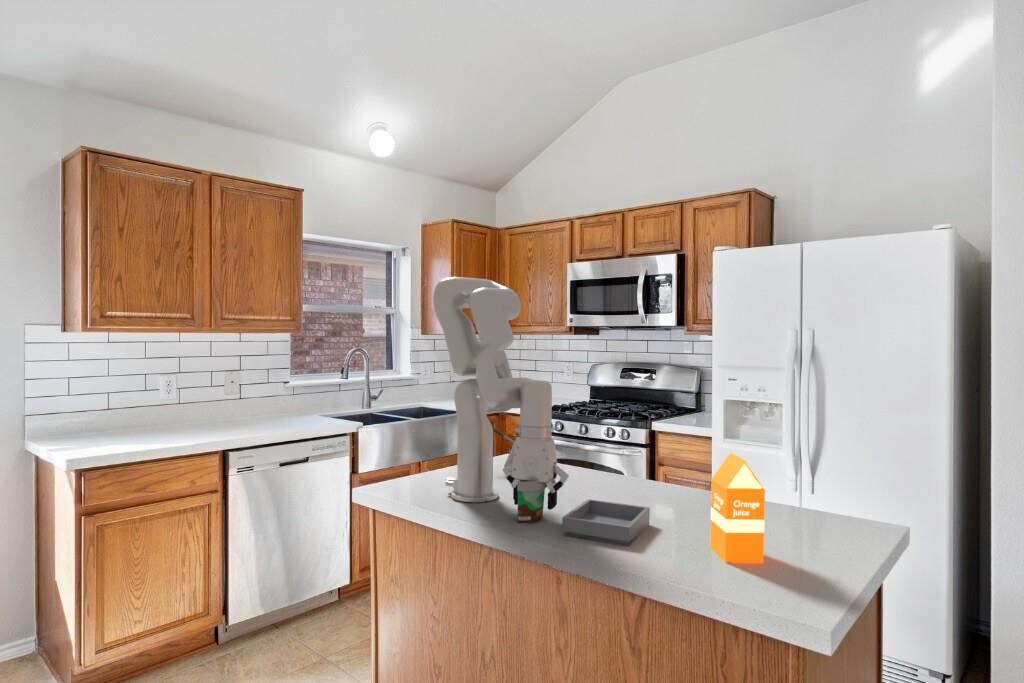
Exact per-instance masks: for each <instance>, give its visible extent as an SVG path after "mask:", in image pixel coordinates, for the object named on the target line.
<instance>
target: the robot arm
mask: <svg viewBox="0 0 1024 683" xmlns="http://www.w3.org/2000/svg"><path fill="white" fill-rule="evenodd" d="M432 302H433V310H434V312H435V316H436V318H437V321H438V322H439V325H440V326H441V329H442V332H443V336H444V340H445V344H446V349H447V352H448V355H449V361H450V363H451V367H452V370H453V371H454V373H455V374H456V375H458V376H460V377H475V378H468V379H465V380H463V381H461V382H459V383H458V384H457V386H456V387H455V390H454V395H453V396H454V397H453V399H454V400H453V401H454V407H455V411H456V418H457V421H456V422H457V462H456V464H457V466H456V467H457V468H456V469H457V470H456V471H457V472H456V475H457V476H456V477H457V478H453V477H447V478H446V479H445V480H446V481H445V486H446V487H452V488H453V489H452V490H451V493H450V494H451V495H450V497H451V498H452V499H453V500H456V501H458V502H464V503H485V501H487V502H491V501H494V500H496V499H497V498H498V497H499V491H498V490H496V489H495V488H493V486H494V485H493V484H494V483H493V482H494V481H493V479H494V471H493V470H494V432H493V429H492V427H493V426H492V424H491V422H490V420H489V418H488V416H487V415H489V414H494V413H495V414H496V413H505V412H508V411H511V410H512V409H520V410H519V424H518V425H516V426H515V427H514V432H516V433H519V435H520V437H517V438H516V442H515V447H514V454H513V463H511V464H509V465H508V466H506V467H505V468H504V467H503V468H502V472H503V473H504V476H505V477H506V479H507V481H508V482H509V484H510V485H511V488H512V489H513V490H512V491H513V493H512V496H513V498H512V500H513V501H514V505H515V506H518V491H517V485H518V481H519V482H521V481H538V480H539V482H540V483H546V485H547V489H549V492H548V493H547V510H549V511H550V510H551V511H552V510H553V509H554V508H555V507H556V506H557V504H558V492H559V490H560V489H561V488H562V487H563V486H564V485H565V483H566V482H567V481H568V479H569V477H570V475H569V474H568V473H567V472H566V471H564V470H563V469H562V468H561V467H560V466H559V465H558V458H557V450H556V444H555V443H556V442H555V438H552V421H553V420H552V417H553V415H552V413H553V412H552V408H553V403H552V402H553V400H552V399H553V391H552V390H553V387H552V384H551V382H549V381H547V380H540V379H538V380H535V379H532V378H529V377H513V374H512V371H511V366H510V363H509V360H508V357H507V354H506V351H505V350H506V349H507V348H509V347H510V346H511V345H512V344H513V343H514V340H515V336H514V333H513V331H512V328H511V325H510V323H509V321H513V320H514V319H516V318H517V317H519V314H520V312H521V306H522V304H521V300H520V298H519V295H518V294H517V292H516V291H514V290H513V289H512V288H509V287H508V286H505V285H502V284H500V283H498V282H497V281H493V280H491V279H487V278H475V277H463V276H451V277H446V278H442V279H441V280H440V281H438V282H437V283H436V285H435V287H434V291H433V297H432ZM462 309H469V311H470V313H471V317H472V320H473V322H472V321H471V320H470V318H469V317H468V315H467V314H466V313H465V312H463V310H462ZM474 325H475V327H474ZM475 329H476V330H475ZM476 332H477V334H478V336H477V334H476ZM478 337H479V339H478ZM511 470H512V472H511ZM558 476H559V480H558V482H557V481H556V479H557V477H558Z"/></svg>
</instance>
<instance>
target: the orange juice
mask: <svg viewBox="0 0 1024 683" xmlns="http://www.w3.org/2000/svg"><path fill="white" fill-rule="evenodd" d="M765 496H766V489H765V488H764V487H763V485H762V484H761V482H760V481H759V479H758V477H757V476H756V475H755V473H754V471H753V470H752V469H751V467H750V465H749V464H748V462H747V460H745V459H744V458H742V457H739V456H738V455H736V454H734V453H733V452H730V453H729V454H727V457H725V459H724V461H723V462H722V463H721V465H720V467H719V468H718V469H717V471H716V472H715V473H714V475H713V476H712V477H711V498H710V499H711V505H710V506H711V507H710V545H709V546H710V547H711V548H712V549H713V550H714V551H715V552H716V553H717V554H718V555H719V556H720V557H721V558H722V559H723V560H722V559H721V558H720V557H719V556H718V555H717V554H716V553H715V552H714V551H713V550H712V549H711V548H710V549H711V550H712V551H713V552H714V553H715V554H716V555H717V556H718V557H719V558H720V559H721V560H722V561H723V562H724V561H725V562H731V563H730V564H764V547H765V546H764V545H765V544H764V543H765V541H764V540H765V506H766V505H765V503H766V502H765V500H766V499H765ZM725 562H724V563H725Z"/></svg>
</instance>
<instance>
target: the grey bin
mask: <svg viewBox="0 0 1024 683" xmlns="http://www.w3.org/2000/svg"><path fill="white" fill-rule="evenodd" d="M650 511H651V510H650V507H648V506H643V505H642V506H641V505H633V504H627V503H618V502H611V501H604V500H600V499H598V500H597V499H591V498H587V499H586V500H585V501H584V502H582V503H581V504H579V505H578V506H576V507H575V508H574V509H572V510H570V511H569V512H568V513H566V514H565V515H563V516H562V521H561V522H562V523H561V524H562V525H561V536H563V537H570V538H576V539H583V540H588V541H593V542H600V543H605V544H611V545H618V546H625V547H631V545H632V544H633V543H634V542H635V541H636V539H638V538H639V537H640V536H641V534H642V533H643V532H644V531H645V530H646V529H647V528H648V527H649V526H648V525H650V516H651V515H650V514H651V513H650ZM647 526H648V527H647ZM646 527H647V528H646Z"/></svg>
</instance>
